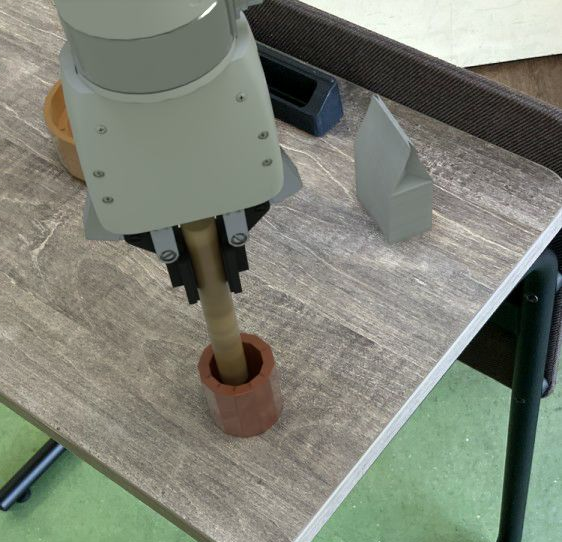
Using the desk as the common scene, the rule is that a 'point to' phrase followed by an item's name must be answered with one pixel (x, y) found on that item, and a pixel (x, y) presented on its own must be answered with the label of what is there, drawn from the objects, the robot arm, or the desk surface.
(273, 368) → the holder
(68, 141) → the bowl
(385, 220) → the grey pointed block
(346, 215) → the desk surface
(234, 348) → the stick
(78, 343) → the desk surface
